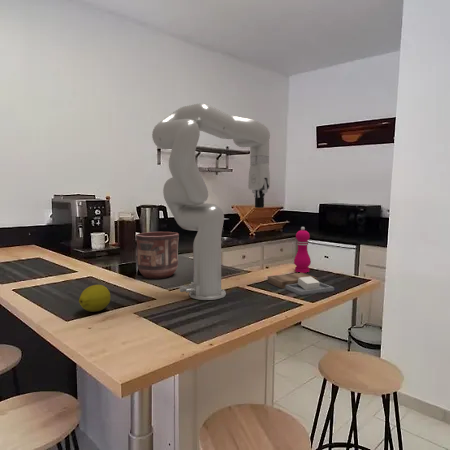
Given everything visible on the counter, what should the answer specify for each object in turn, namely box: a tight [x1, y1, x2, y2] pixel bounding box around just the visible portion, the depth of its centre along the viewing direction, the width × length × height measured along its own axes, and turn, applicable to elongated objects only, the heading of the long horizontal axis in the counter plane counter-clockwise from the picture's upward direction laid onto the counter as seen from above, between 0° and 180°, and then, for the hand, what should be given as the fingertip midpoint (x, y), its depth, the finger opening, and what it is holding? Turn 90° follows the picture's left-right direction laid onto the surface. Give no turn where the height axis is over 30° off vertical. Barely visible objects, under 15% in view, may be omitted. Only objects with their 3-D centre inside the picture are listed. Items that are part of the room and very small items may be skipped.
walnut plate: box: [267, 272, 318, 289], centre depth 146 cm, size 16×10×2 cm, turn 114°
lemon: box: [78, 284, 112, 313], centre depth 113 cm, size 11×8×8 cm
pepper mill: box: [293, 226, 312, 274], centre depth 166 cm, size 7×7×20 cm
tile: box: [298, 275, 321, 290], centre depth 138 cm, size 6×6×2 cm
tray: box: [284, 281, 335, 297], centre depth 136 cm, size 14×10×2 cm
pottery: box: [135, 231, 180, 280], centre depth 160 cm, size 18×18×18 cm
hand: (259, 207), depth 151 cm, fingers closed
